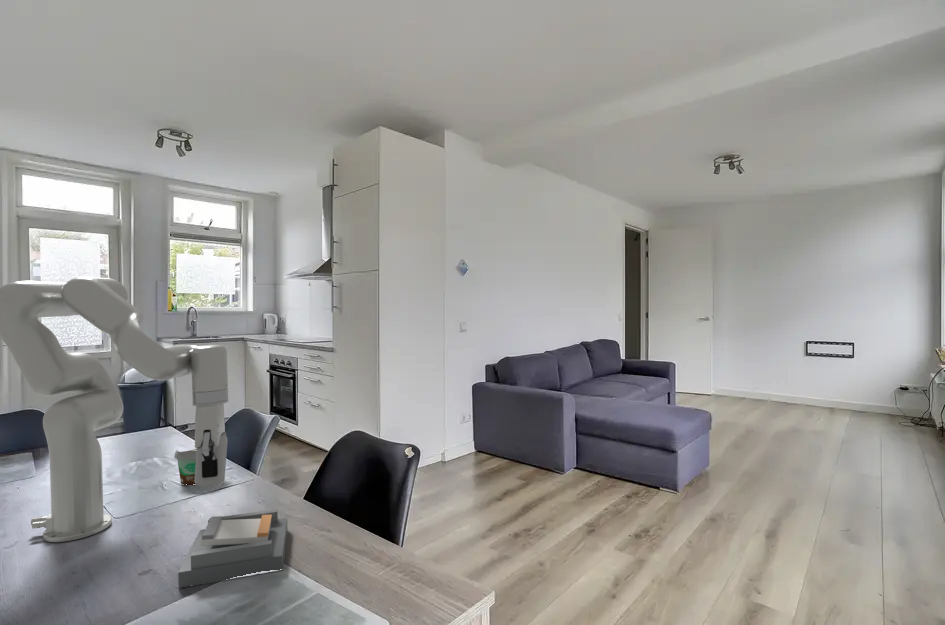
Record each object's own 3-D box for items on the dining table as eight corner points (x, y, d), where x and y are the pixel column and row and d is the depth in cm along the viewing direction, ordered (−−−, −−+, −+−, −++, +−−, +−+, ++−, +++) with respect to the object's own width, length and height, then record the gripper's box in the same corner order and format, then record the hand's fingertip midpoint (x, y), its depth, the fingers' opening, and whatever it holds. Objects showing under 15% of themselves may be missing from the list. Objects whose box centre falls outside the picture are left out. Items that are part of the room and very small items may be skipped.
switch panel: (178, 588, 90) (177, 559, 90) (200, 543, 107) (199, 518, 107) (282, 570, 96) (281, 543, 95) (287, 530, 113) (286, 507, 113)
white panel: (201, 545, 95) (202, 535, 95) (210, 525, 104) (211, 516, 104) (267, 542, 99) (268, 532, 99) (270, 523, 107) (271, 514, 107)
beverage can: (211, 489, 112) (215, 438, 112) (187, 486, 113) (191, 434, 113) (230, 481, 118) (234, 432, 118) (207, 477, 119) (210, 429, 120)
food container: (173, 490, 139) (172, 455, 139) (174, 483, 144) (174, 449, 144) (221, 482, 144) (220, 448, 144) (221, 475, 150) (220, 443, 150)
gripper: (201, 392, 122) (203, 463, 123) (183, 405, 106) (186, 487, 106) (233, 390, 125) (236, 459, 125) (221, 402, 108) (224, 482, 109)
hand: (213, 471), depth 116 cm, fingers closed on beverage can, 6 cm apart
